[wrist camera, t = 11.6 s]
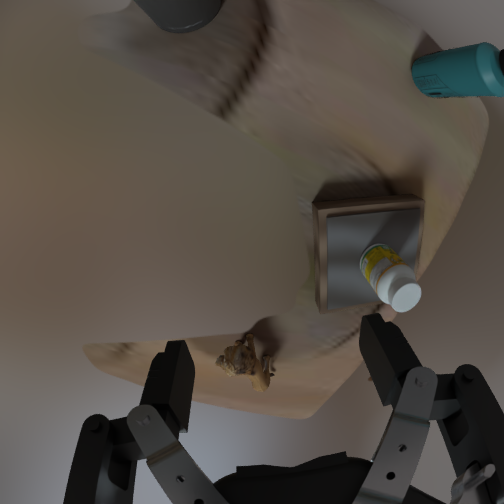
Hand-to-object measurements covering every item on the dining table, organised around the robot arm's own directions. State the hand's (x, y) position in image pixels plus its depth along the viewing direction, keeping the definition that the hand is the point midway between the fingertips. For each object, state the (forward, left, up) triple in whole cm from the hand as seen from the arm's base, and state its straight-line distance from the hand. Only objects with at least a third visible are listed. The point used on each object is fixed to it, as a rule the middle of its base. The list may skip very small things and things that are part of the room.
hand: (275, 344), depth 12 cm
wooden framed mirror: (+10, +16, -28) cm, 33 cm away
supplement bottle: (+10, +16, -24) cm, 30 cm away
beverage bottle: (-16, +27, -28) cm, 42 cm away
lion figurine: (+27, -4, -28) cm, 39 cm away
